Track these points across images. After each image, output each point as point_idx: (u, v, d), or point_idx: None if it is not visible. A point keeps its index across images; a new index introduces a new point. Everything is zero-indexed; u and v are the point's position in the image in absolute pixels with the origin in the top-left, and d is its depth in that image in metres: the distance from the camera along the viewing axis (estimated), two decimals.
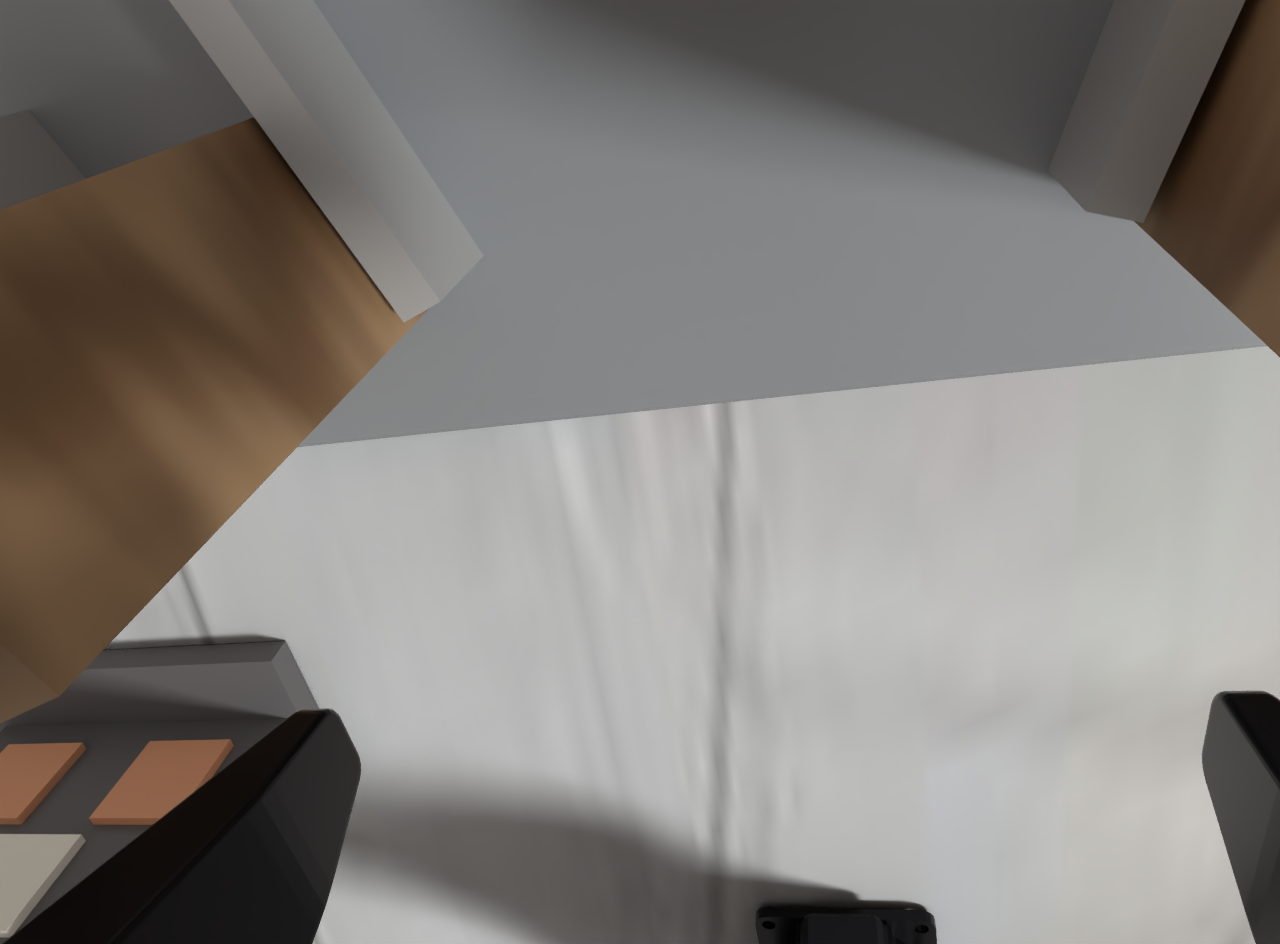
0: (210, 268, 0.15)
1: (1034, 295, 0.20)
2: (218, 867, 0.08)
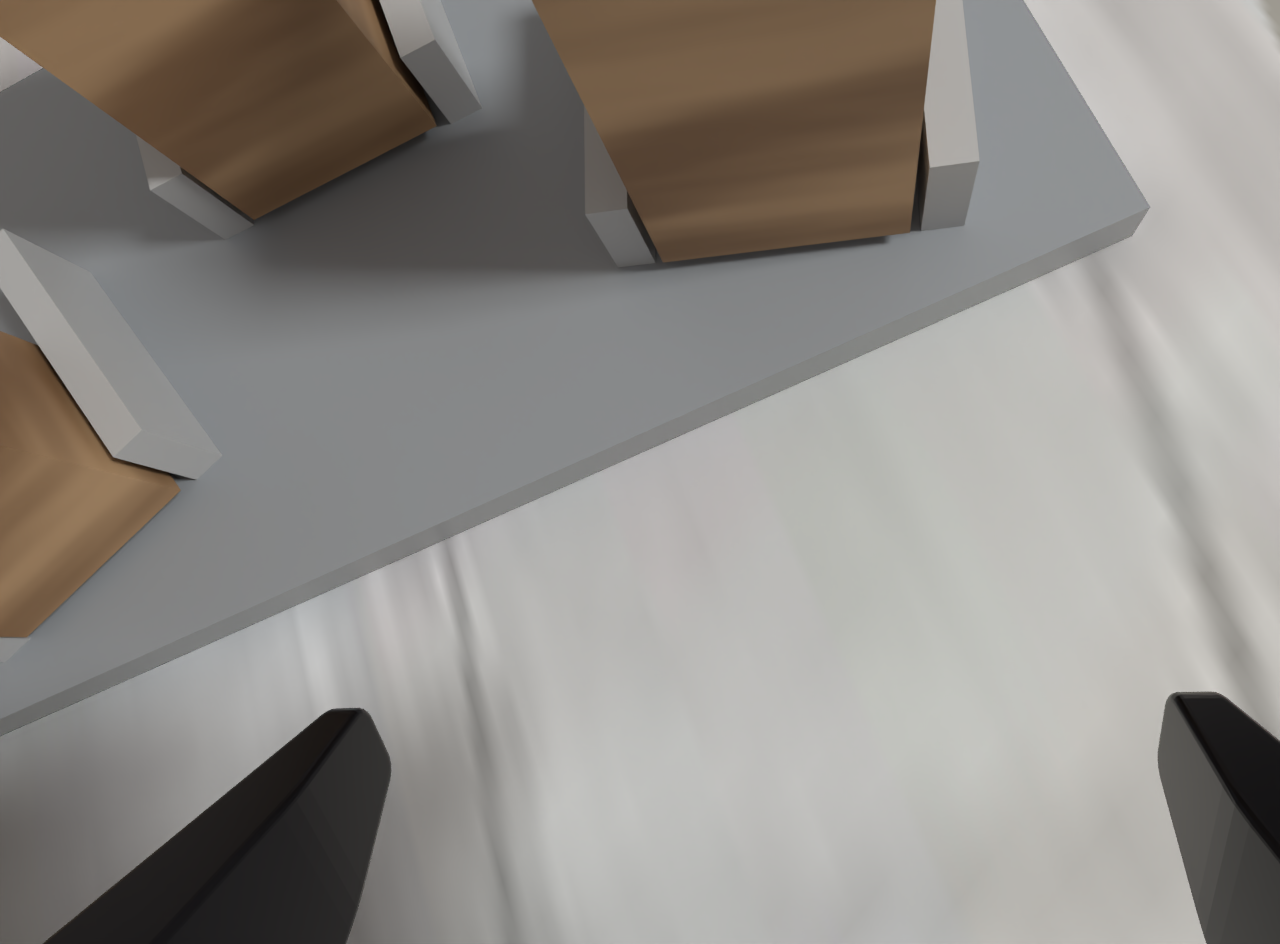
0: None
1: (646, 357, 0.23)
2: (256, 867, 0.08)
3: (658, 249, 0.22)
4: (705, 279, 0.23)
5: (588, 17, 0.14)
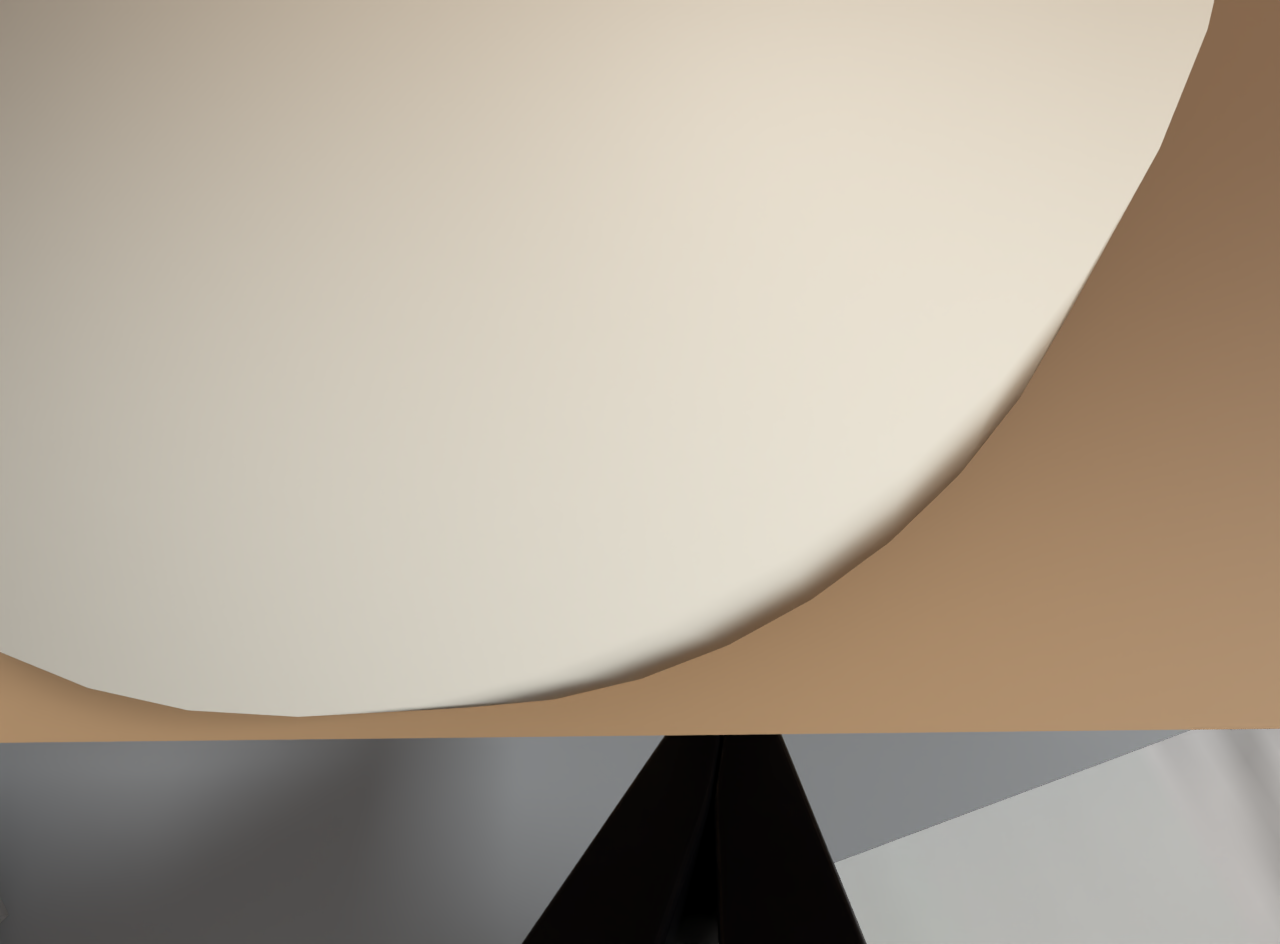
0: None
1: (588, 835, 0.16)
2: (694, 879, 0.07)
3: None
4: None
5: None
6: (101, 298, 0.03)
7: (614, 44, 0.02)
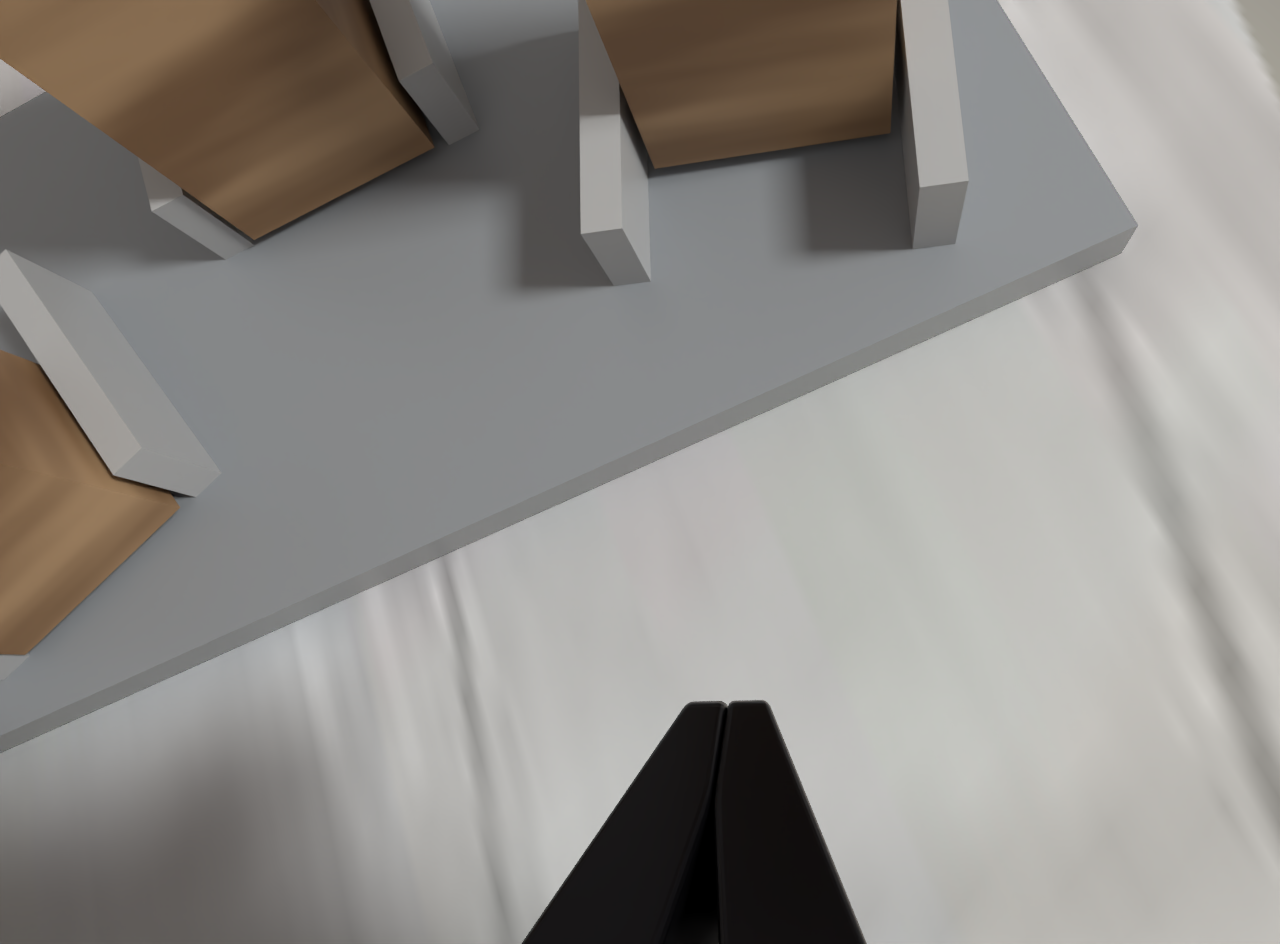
0: None
1: (642, 374, 0.23)
2: (695, 878, 0.07)
3: (649, 152, 0.23)
4: (700, 297, 0.24)
5: None
6: None
7: None
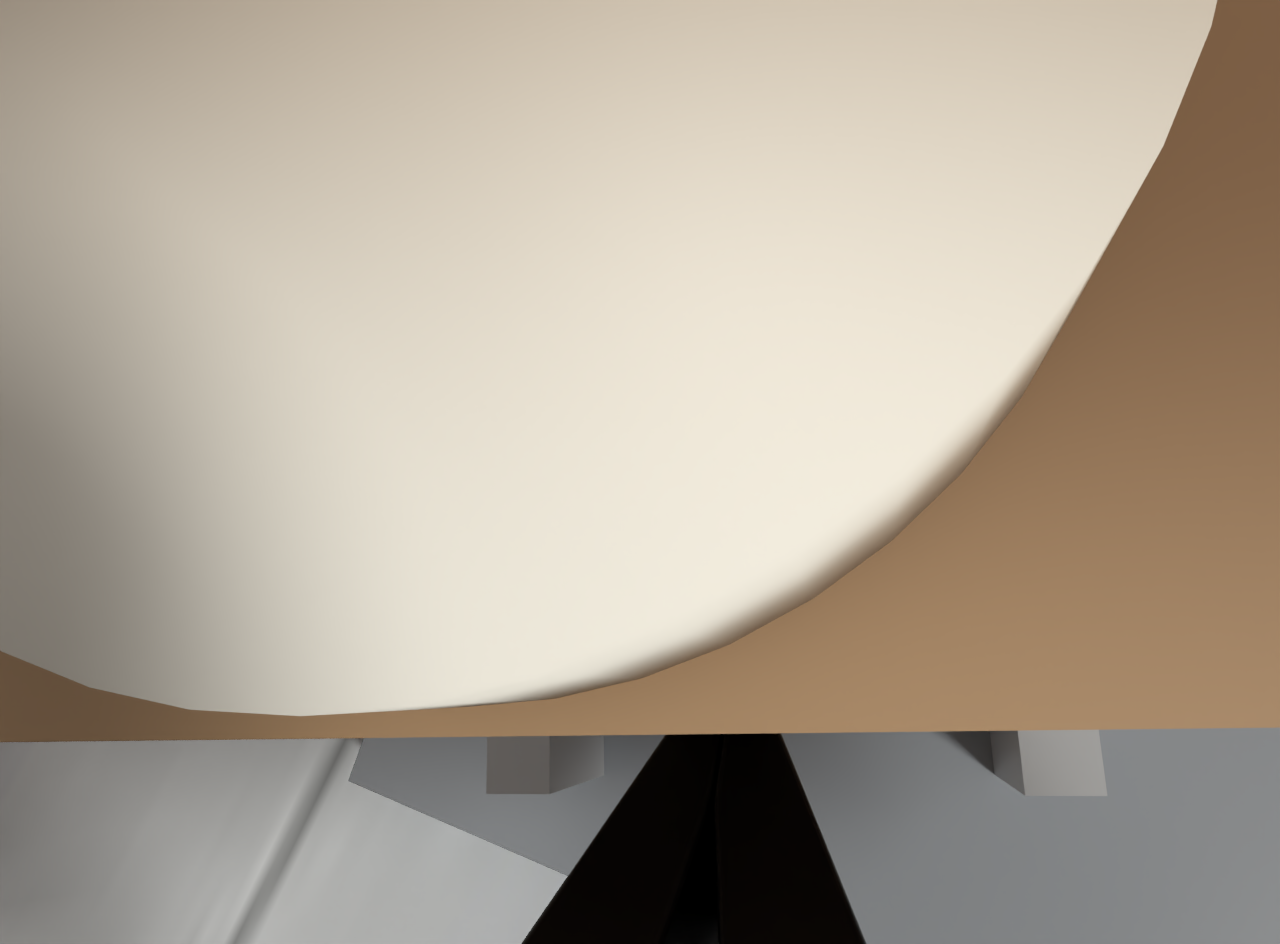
0: None
1: None
2: (695, 879, 0.07)
3: None
4: None
5: None
6: None
7: None
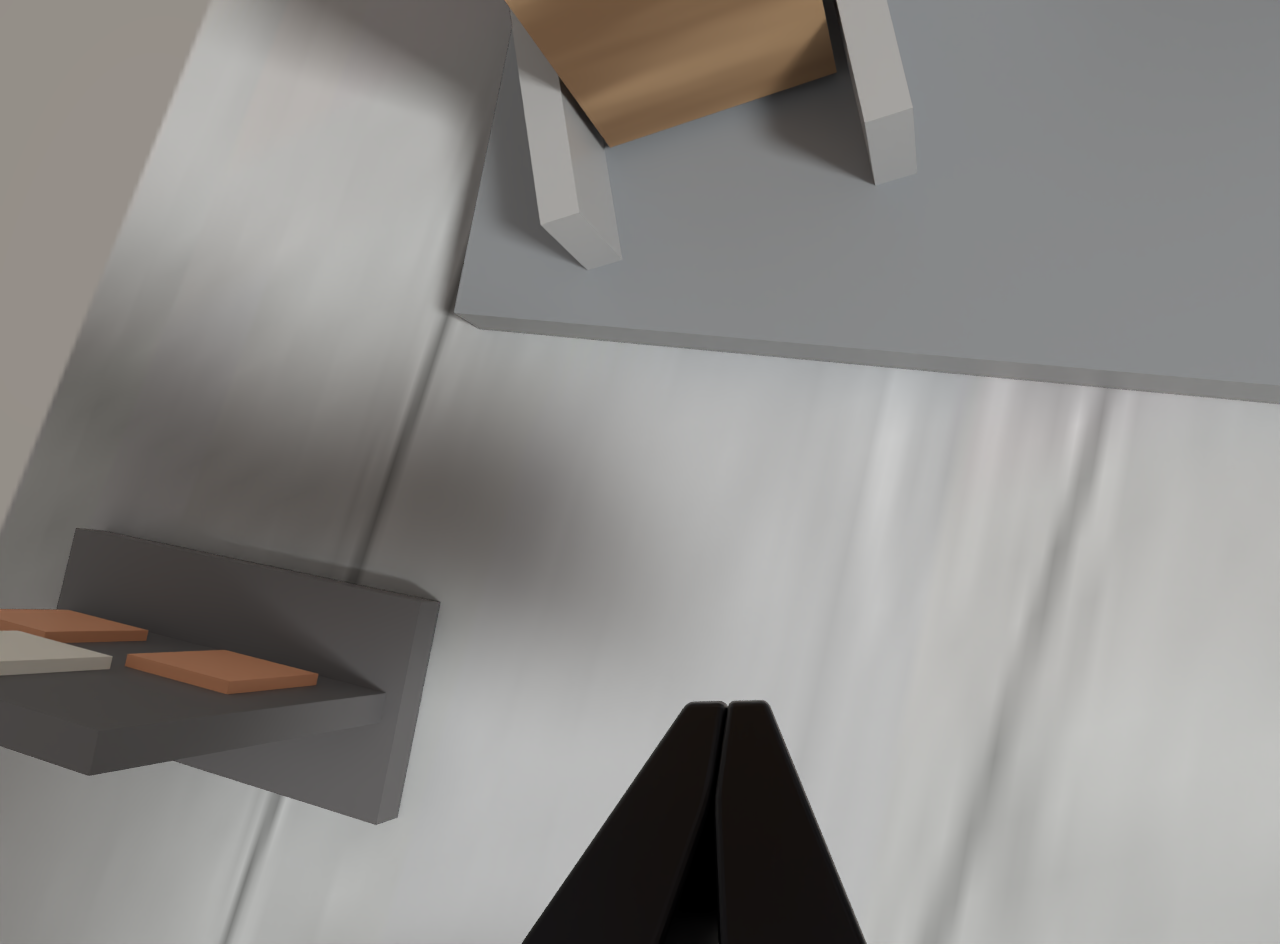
0: None
1: None
2: (694, 878, 0.07)
3: None
4: None
5: None
6: None
7: None
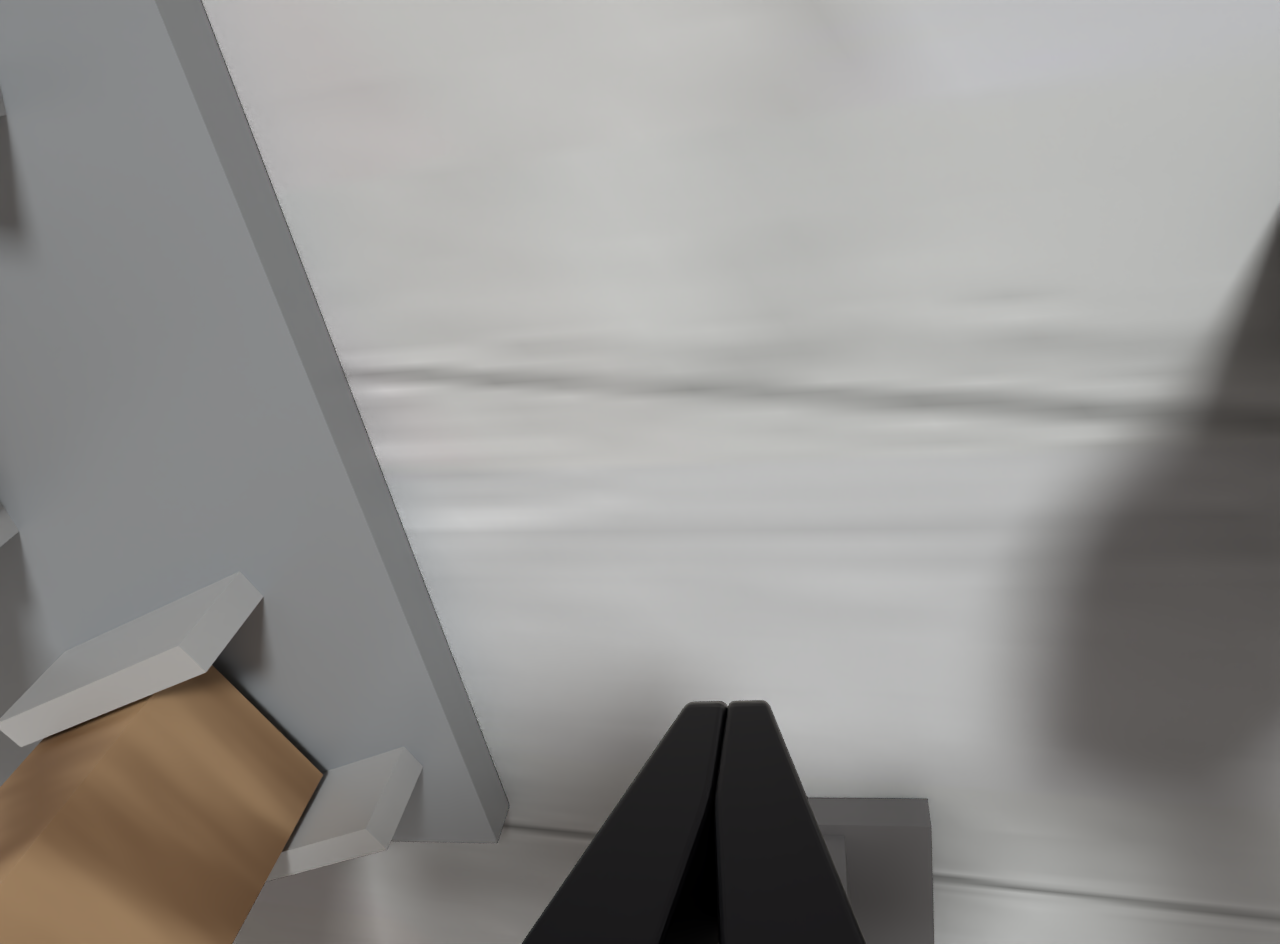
0: None
1: (116, 104, 0.19)
2: (694, 877, 0.07)
3: None
4: (11, 1, 0.18)
5: None
6: None
7: None
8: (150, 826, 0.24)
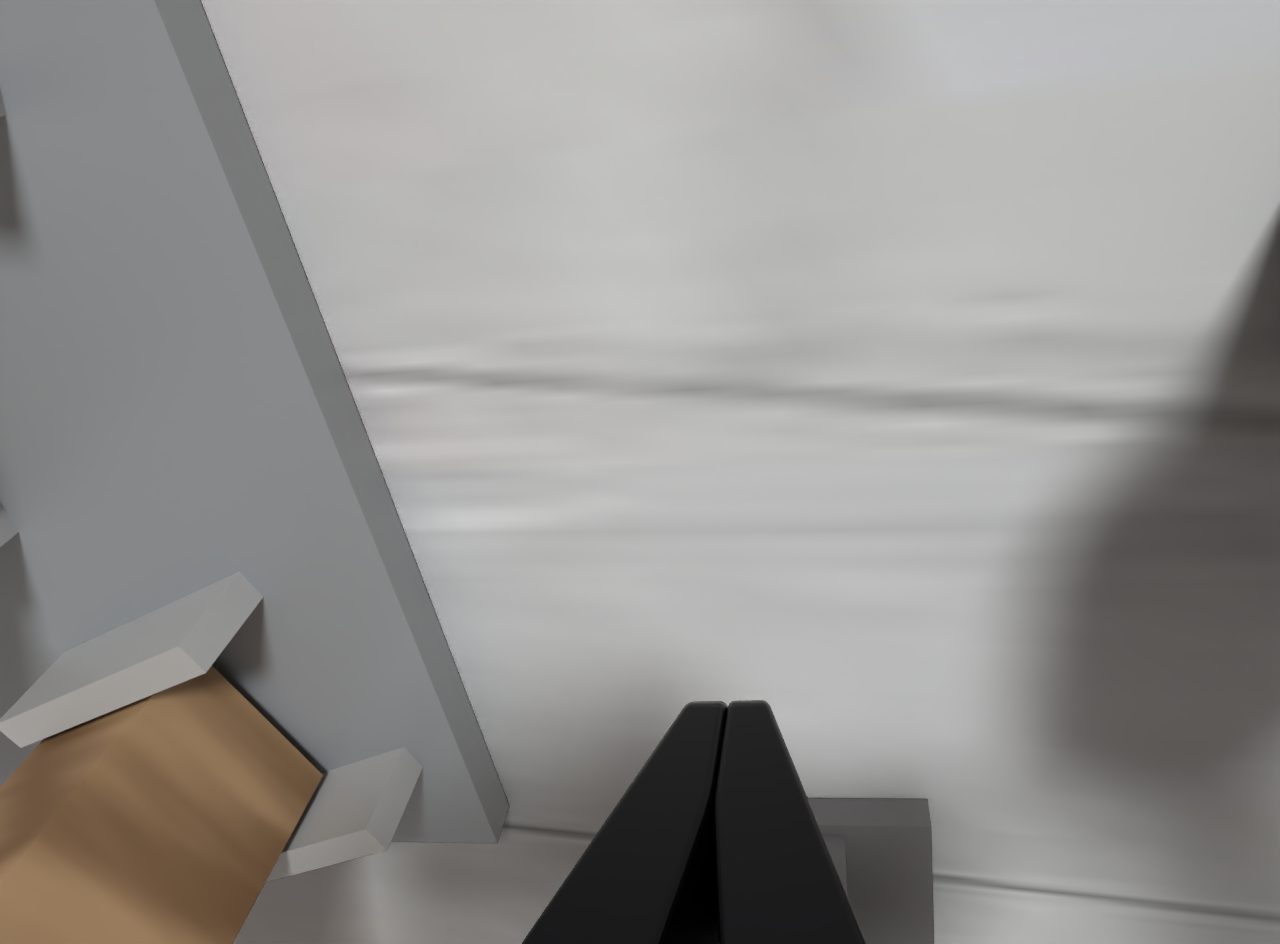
0: None
1: (115, 105, 0.19)
2: (694, 879, 0.07)
3: None
4: (10, 2, 0.18)
5: None
6: None
7: None
8: (150, 827, 0.24)
